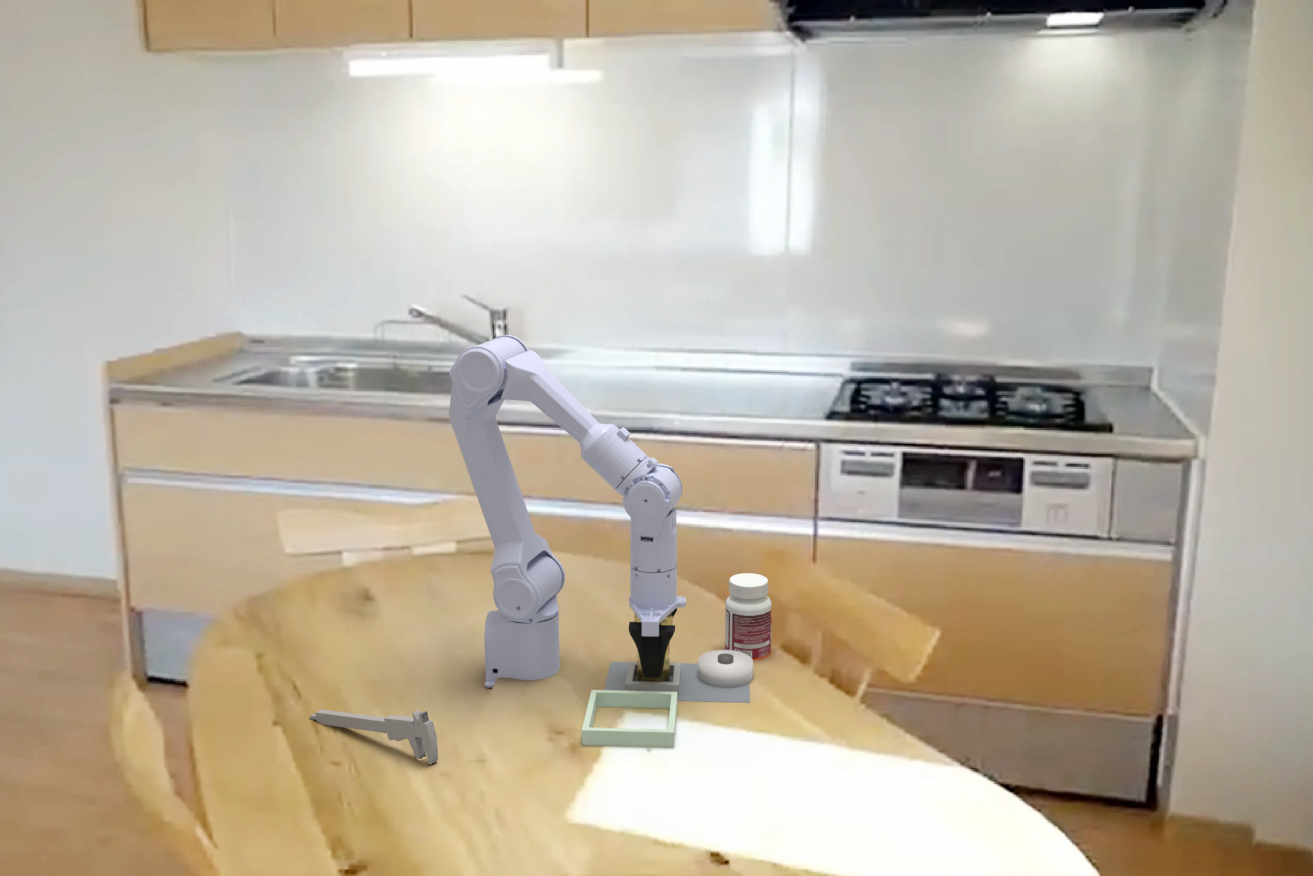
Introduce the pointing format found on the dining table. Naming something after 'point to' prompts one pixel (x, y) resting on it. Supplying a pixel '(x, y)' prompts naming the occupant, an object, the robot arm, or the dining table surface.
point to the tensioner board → (693, 678)
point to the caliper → (390, 728)
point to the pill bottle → (748, 616)
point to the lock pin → (666, 668)
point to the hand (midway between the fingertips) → (653, 668)
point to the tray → (627, 734)
